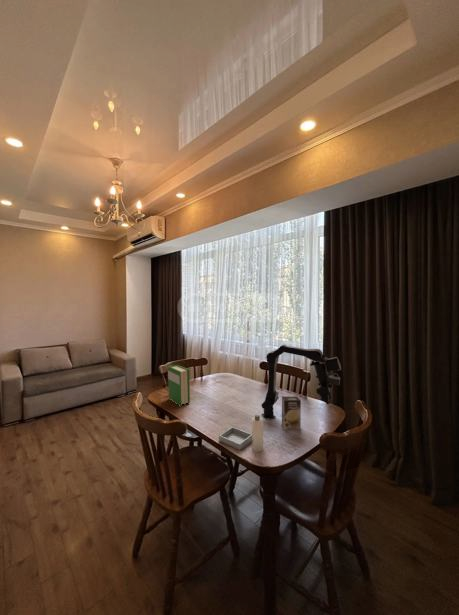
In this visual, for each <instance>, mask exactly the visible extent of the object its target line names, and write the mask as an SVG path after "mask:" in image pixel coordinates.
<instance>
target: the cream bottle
mask: <svg viewBox="0 0 459 615" xmlns="http://www.w3.org/2000/svg"><path fill="white" fill-rule="evenodd" d="M251 434H252V441H251V449H252V451H253V452H255V453H259V452H263V451H264V418H262V417H260V415H259V414H256V415H254V417H252V418H251Z"/></svg>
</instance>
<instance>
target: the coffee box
mask: <svg viewBox="0 0 459 615" xmlns="http://www.w3.org/2000/svg"><path fill="white" fill-rule="evenodd" d="M301 402H302V401H301V399H300V397H298V396H295V395H294V396H286V395H285V396H283V395H282V396H281V426H282V427H283V430H301V429H302V427H301V426H302V425H301V423H302V422H301V420H302V419H301V418H302V417H301V416H302V415H301V413H302V412H301V410H302V409H301V408H302V407H301V405H302V403H301Z"/></svg>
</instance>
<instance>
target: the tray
mask: <svg viewBox="0 0 459 615" xmlns="http://www.w3.org/2000/svg"><path fill="white" fill-rule="evenodd" d="M219 442H220V443H221V444H224V445H226V446H229V447H231V448H233V449H235V450H237V451H240V452H241V451H242V450H243V449H244V448H245V447H246V446H247V445H249V444H250V443H252V433H250V432H249V431H248V432H247V431H244V430H242V429H241V428H237V427H235V426H231V427H229V428H228V429H227V430H226V431H224V432H223V433H221V434H219V435H218V443H219Z"/></svg>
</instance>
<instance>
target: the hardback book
mask: <svg viewBox="0 0 459 615" xmlns="http://www.w3.org/2000/svg"><path fill="white" fill-rule="evenodd" d="M167 372H168V373H167V381H168V382H167V384H168V399H169V398H170V399H172V400H173V401H174V402H176V403H177V404H178V405H180V406H181V407H182V406H183V405H182V404H184V405H187V404H186V403H190V404H191V399H190V398H191V395H190V394H191V393H190V369H189V368H186V367H184V366H181V365H179V364H173V365H169V366H167ZM178 405H177V406H178Z"/></svg>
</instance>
